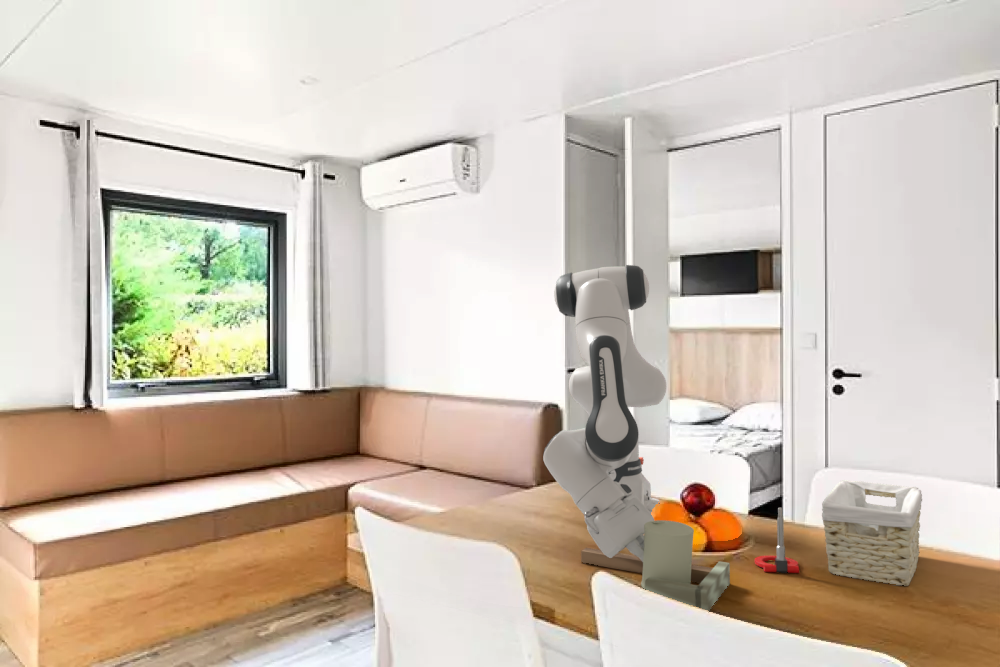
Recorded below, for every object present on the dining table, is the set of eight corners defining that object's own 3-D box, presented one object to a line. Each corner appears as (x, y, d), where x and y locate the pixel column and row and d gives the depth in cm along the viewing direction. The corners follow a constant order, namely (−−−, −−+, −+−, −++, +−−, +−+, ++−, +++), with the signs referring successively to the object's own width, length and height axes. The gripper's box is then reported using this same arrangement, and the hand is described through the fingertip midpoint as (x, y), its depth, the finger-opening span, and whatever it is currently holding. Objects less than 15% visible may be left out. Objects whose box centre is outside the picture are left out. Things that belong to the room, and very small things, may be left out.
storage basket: (913, 592, 132) (912, 512, 132) (818, 575, 141) (818, 501, 141) (924, 556, 152) (923, 486, 151) (840, 543, 161) (840, 478, 161)
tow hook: (751, 560, 152) (760, 573, 143) (750, 498, 153) (759, 508, 143) (792, 561, 151) (804, 575, 142) (791, 500, 151) (803, 509, 142)
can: (663, 575, 141) (666, 515, 141) (701, 591, 134) (704, 527, 134) (630, 584, 136) (633, 522, 136) (668, 601, 129) (671, 535, 128)
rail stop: (586, 559, 153) (585, 540, 153) (729, 583, 137) (729, 562, 137) (551, 584, 139) (550, 563, 139) (706, 614, 123) (706, 591, 123)
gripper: (591, 504, 132) (642, 566, 127) (631, 482, 149) (678, 536, 144) (569, 525, 134) (619, 586, 129) (612, 501, 152) (657, 554, 147)
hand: (650, 559), depth 137 cm, fingers closed, pressing on can
